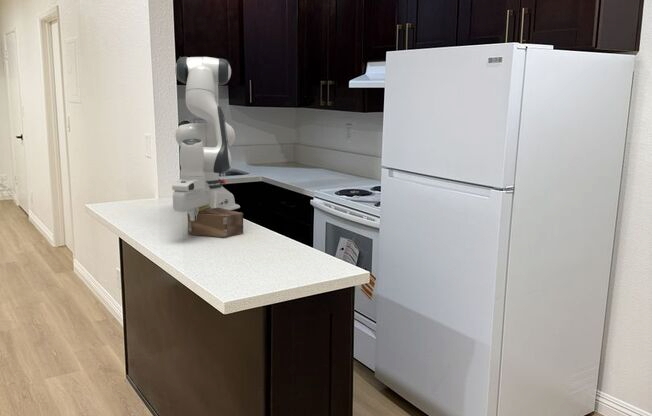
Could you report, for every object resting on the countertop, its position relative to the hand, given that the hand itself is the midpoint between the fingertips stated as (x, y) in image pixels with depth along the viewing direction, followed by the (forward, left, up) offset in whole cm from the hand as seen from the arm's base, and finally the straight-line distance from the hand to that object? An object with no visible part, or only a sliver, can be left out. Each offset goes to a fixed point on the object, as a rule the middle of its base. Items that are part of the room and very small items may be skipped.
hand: (193, 220), depth 219 cm
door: (-3, +4, -6) cm, 8 cm away
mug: (-12, -14, -6) cm, 19 cm away
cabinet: (-12, +2, -6) cm, 13 cm away
